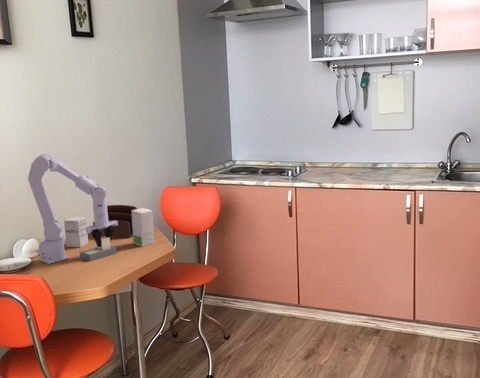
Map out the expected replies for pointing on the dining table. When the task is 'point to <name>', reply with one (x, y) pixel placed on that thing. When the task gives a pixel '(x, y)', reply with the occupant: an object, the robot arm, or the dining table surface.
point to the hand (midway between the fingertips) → (103, 245)
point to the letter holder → (120, 220)
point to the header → (97, 253)
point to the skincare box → (142, 227)
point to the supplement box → (76, 231)
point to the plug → (104, 243)
